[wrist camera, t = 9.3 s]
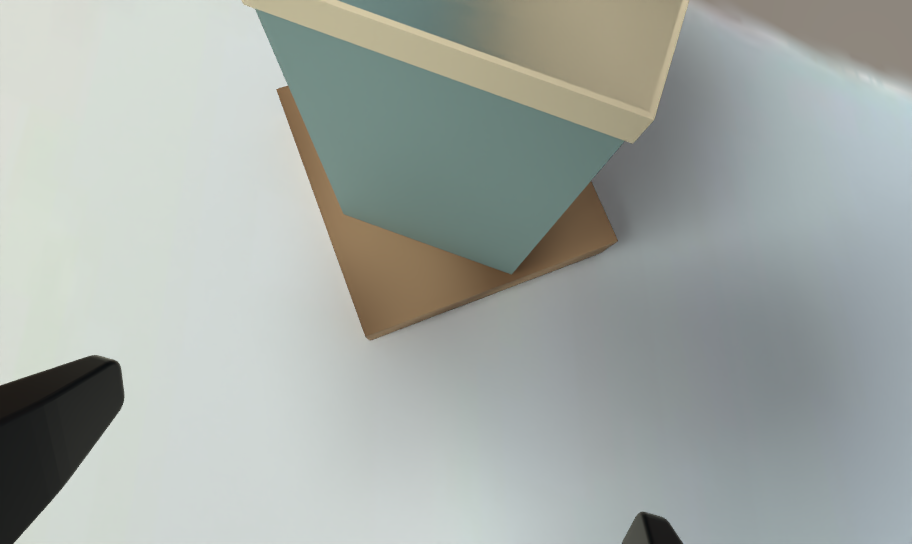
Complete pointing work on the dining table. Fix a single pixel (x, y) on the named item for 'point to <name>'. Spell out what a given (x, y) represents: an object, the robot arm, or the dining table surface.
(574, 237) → the block
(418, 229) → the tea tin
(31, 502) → the robot arm
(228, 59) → the dining table surface
